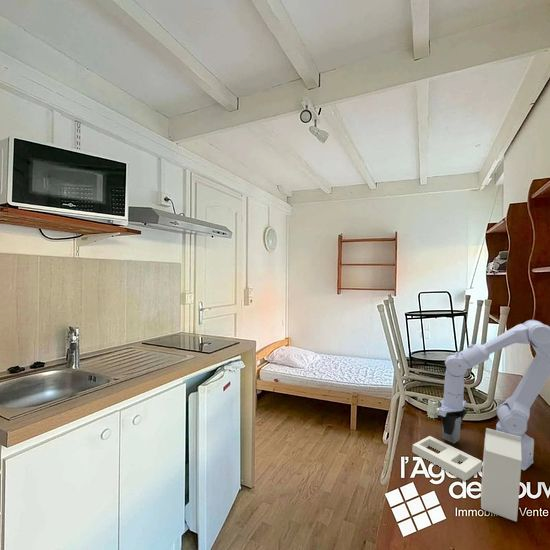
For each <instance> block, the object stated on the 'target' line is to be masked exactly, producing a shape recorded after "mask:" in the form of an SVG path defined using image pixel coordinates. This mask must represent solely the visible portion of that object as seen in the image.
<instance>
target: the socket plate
mask: <svg viewBox="0 0 550 550" xmlns="http://www.w3.org/2000/svg"><path fill="white" fill-rule="evenodd" d="M429 446H430V448H431V447H432V448H431V449H429ZM411 448H412V453H413V454H415V455H416V456H418V457H420V458H422V459H424V460H425V459H426V460H425V461H427V460H428V461H427V462H429V461H430V462H429V463H431V462H433V463H435V464H436V465H438V466H439V467H438V466H437V467H438V468H440V467H441V468H440V469H442V468H443V469H442V470H444V469H445V470H444V471H446V470H447V471H448V473H449V472H450V475H453V476H455V477H456V478H459V479H460V480H462V481H463V482H467V481H468V480H469V479H471V478H472V477H473V476H475V475H476V474H478V472H480V471H481V470H482V468H483V460H480V459H479V458H476V457H474V456H472V455H470V454H468V453H467V452H464V451H462V450H460V449H458V448H455V447H454V446H452V445H450V444H448V443H445V442H444V441H442V440H440V439H437V438H435V437H433V436H431V435H428V436H427V437H425V438H423V439H420V440H419V441H417V442H415V443H412V447H411ZM433 448H434V450H435V449H436V450H435V451H437V450H438V451H437V452H439V451H440V452H439V453H437V452H434V451H433V450H432V449H433ZM459 461H460V462H459ZM458 462H459V463H460V464H459V463H458ZM461 462H463V463H461ZM433 463H432V464H433ZM456 463H457V464H456ZM435 464H434V465H435ZM436 465H435V466H436ZM480 469H481V470H480ZM479 470H480V471H479ZM447 471H446V472H447ZM466 480H467V481H466Z"/></svg>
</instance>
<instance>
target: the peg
mask: <svg viewBox="0 0 550 550" xmlns="http://www.w3.org/2000/svg"><path fill="white" fill-rule="evenodd" d="M452 415H454V416H457V417H458V418H457V419H456V421H455V423H454V426H453V431H452V434H451V435H449V434H446V433H444V429H443V424H442V425H441V427H442V428H441V439H443V440H446V441H447V442H450V443H452V444H455V443H457V442H460V441H461V425H462V423H461V416H458V415H456V414H453V413H452Z"/></svg>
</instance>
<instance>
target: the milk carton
mask: <svg viewBox="0 0 550 550" xmlns="http://www.w3.org/2000/svg"><path fill="white" fill-rule="evenodd" d="M483 445H484V446H483V454H482V455H483V456H482V468H481V471H482V473H481V485H480V486H481V487H480V508H481V509H482V510H483V511H487V512H489V513H491V514H495V515H497V516H499V517H503V518H504V519H507V520H510V521H513V522H516V523H517V521H518V510H519V499H520V486H521V474H522V473H521V472H522V469H521V462H522V455H521V437H519V436H515V435H511V434H508V433H504V432H500V431H496V429H491V428H488V427H485V435H484V444H483Z"/></svg>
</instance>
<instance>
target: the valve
mask: <svg viewBox="0 0 550 550" xmlns="http://www.w3.org/2000/svg"><path fill="white" fill-rule="evenodd" d="M439 403H440V402H439V401H438V400H437V399H435V398H429V399H428V401H427V406H426V412H427V414H426V415H428V416H427V418H429V417H430V418H429V419H431V418H433V419H432V420H435V419H434V418H439V417H438V416H439V414H438V410H439V408H440V407H439ZM461 424H463V421H462V422H461Z"/></svg>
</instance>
